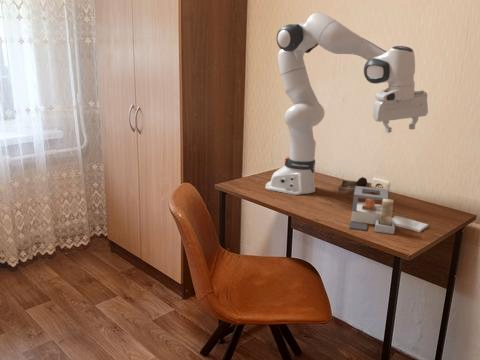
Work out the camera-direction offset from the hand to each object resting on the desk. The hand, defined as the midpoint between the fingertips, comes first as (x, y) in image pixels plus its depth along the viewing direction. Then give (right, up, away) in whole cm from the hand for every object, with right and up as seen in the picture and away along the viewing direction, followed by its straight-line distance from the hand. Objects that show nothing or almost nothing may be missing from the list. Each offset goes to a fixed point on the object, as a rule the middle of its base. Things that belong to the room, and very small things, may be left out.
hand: (400, 130), depth 172 cm
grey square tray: (-7, -36, -5) cm, 37 cm away
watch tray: (-7, -23, +41) cm, 48 cm away
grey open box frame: (-10, -33, +6) cm, 35 cm away
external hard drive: (+3, -35, +2) cm, 36 cm away
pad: (-16, -35, -3) cm, 39 cm away
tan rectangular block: (-7, -36, -5) cm, 37 cm away
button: (-10, -29, +5) cm, 31 cm away
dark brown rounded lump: (-7, -23, +41) cm, 48 cm away
